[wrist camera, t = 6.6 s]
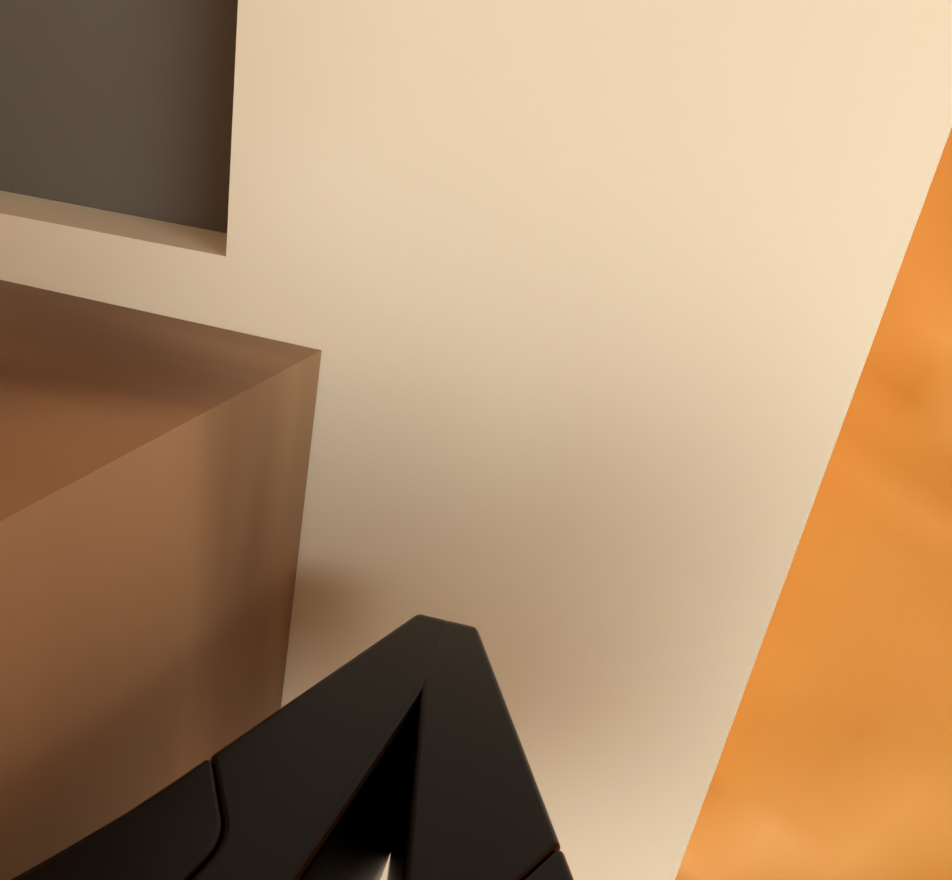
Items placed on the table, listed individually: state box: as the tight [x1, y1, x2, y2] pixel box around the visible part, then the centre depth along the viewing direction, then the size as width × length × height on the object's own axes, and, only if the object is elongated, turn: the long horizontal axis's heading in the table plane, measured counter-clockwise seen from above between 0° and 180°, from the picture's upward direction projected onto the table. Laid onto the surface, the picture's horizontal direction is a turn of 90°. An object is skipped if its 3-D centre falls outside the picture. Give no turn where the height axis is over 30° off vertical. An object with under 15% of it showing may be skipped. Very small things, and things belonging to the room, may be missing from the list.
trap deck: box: [0, 0, 952, 880], centre depth 12 cm, size 22×24×3 cm
